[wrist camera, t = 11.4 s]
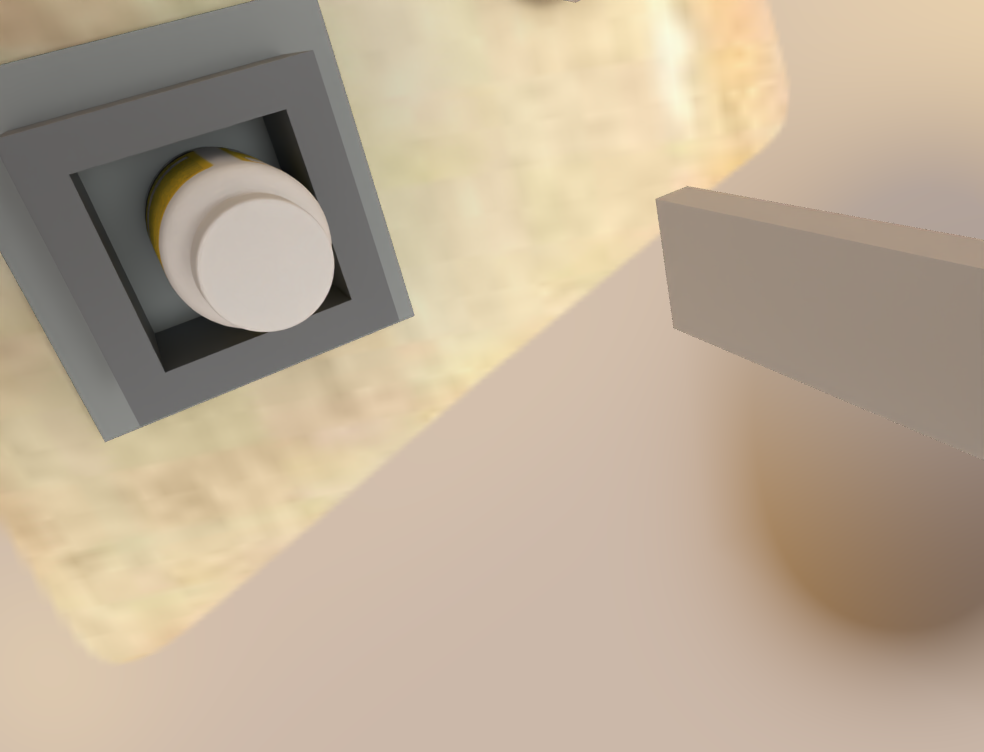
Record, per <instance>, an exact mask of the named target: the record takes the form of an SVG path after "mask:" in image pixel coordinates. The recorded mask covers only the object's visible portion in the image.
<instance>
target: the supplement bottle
mask: <svg viewBox="0 0 984 752" xmlns="http://www.w3.org/2000/svg"><path fill="white" fill-rule="evenodd" d="M145 223H146V229H147V232H148V235H149V238H150V241H151V244H152V246H153V248H154V251H155V253H156V255H157V257H158V259H159V261H160V263H161V265H162V268H163V270H164V272H165V274H166V276H167V278H168V280H169V282H170V284H171V286H172V287H173V289H174V290H175V291H176V293H177V294H178V295H179V297H180V298H181V299H182V300H183V301H184V302H185V303H186V304H187V305H188V306H189V307H190V308H192V309H193V310H194V311H196V312H197V313H198V314H200V315H202V316H203V317H205V318H207V319H209V320H211V321H214V322H216V323H219V324H222V325H225V326H229V327H235V328H243V329H246V330H250V331H257V332H274V331H280V330H284V329H288V328H291V327H293V326H295V325H298V324H299V323H301V322H303V321H304V320H306V319H307V318H308V317H310V316H311V315H312V314H313V313H314V312H315V311H316V310H317V309H318V308H319V307H320V305H321V304H322V303H323V301H324V300H325V298H326V296H327V294H328V292H329V290H330V287H331V284H332V280H333V275H334V256H333V251H332V242H331V235H330V230H329V226H328V223H327V220H326V217H325V215H324V212H323V211H322V209H321V207H320V205H319V203H318V202H317V200H316V199H315V198H314V196H313V195H312V194H311V193H310V192H309V191H308V190H307V189H306V188H305V187H304V186H303V185H302V184H301V183H300V182H299V181H297V180H296V179H294V178H293V177H291V176H290V175H288V174H287V173H285V172H283V171H282V170H279V169H277V168H275V167H273V166H271V165H269V164H267V163H264V162H262V161H260V160H258V159H256V158H254V157H252V156H250V155H248V154H245V153H243V152H240V151H237V150H234V149H229V148H224V147H202V148H197V149H193V150H189V151H187V152H185V153H182V154H180V155H178V156H177V157H175V158H174V159H172V160H171V161H169V162H168V163H167V164H166V165H165V166H164V167H163V168H162V169H161V170H160V171H159V172H158V173H157V175H156V176H155V178H154V180H153V182H152V183H151V186H150V188H149V191H148V194H147V198H146V203H145Z"/></svg>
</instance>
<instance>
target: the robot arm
mask: <svg viewBox="0 0 984 752" xmlns="http://www.w3.org/2000/svg"><path fill="white" fill-rule="evenodd" d="M656 206H657V213H658V220H659V227H660V234H661V242H662V248H663V256H664V263H665V270H666V277H667V284H668V292H669V299H670V305H671V313H672V320H673V328H675V329H677V330H679V331H682V332H684V333H686V334H689V335H691V336H693V337H696V338H698V339H700V340H703V341H705V342H708V343H710V344H712V345H715V346H717V347H719V348H722V349H724V350H726V351H729V352H731V353H733V354H736V355H738V356H740V357H743V358H745V359H747V360H750V361H752V362H754V363H757V364H759V365H762V366H764V367H766V368H769V369H771V370H773V371H775V372H778V373H780V374H782V375H785V376H787V377H790V378H792V379H794V380H797V381H799V382H801V383H804V384H806V385H808V386H811V387H813V388H815V389H818V390H820V391H822V392H825V393H827V394H830V395H832V396H834V397H836V398H839V399H841V400H844V401H846V402H849V403H850V404H853V405H855V406H858V407H860V408H862V409H865V410H867V411H869V412H872V413H874V414H876V415H879V416H881V417H883V418H886V419H888V420H890V421H893V422H895V423H897V424H900V425H902V426H904V427H907V428H909V429H912V430H914V431H916V432H919V433H921V434H923V435H926V436H928V437H930V438H933V439H935V440H937V441H940V442H942V443H944V444H947V445H949V446H951V447H954V448H956V449H958V450H961V451H963V452H966V453H968V454H970V455H973V456H975V457H978V458H980V459H982V460H984V240H981V239H976V238H971V237H965V236H960V235H954V234H949V233H943V232H937V231H931V230H927V229H921V228H915V227H910V226H904V225H899V224H893V223H888V222H882V221H877V220H871V219H866V218H860V217H855V216H849V215H843V214H838V213H832V212H827V211H821V210H816V209H810V208H805V207H799V206H794V205H788V204H782V203H777V202H772V201H766V200H760V199H755V198H749V197H743V196H738V195H733V194H727V193H722V192H716V191H711V190H705V189H700V188H694V187H689V186H687V187H684V188H682V189H679V190H677V191H674V192H672V193H669V194H667V195H664V196H662V197H659V198H657V199H656Z"/></svg>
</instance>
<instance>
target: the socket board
mask: <svg viewBox="0 0 984 752" xmlns="http://www.w3.org/2000/svg"><path fill="white" fill-rule="evenodd" d="M202 147H224V148H229V149H234V150H237V151H240V152H243V153H245V154H248V155H250V156H252V157H254V158H256V159H258V160H260V161H262V162H264V163H267V164H269V165H271V166H273V167H275V168H277V169H279V170H282V171H283V172H285V173H287V174H288V175H290V176H291V177H293V178H294V179H296V180H297V181H299V182H300V183H301V184H302V185H303V186H304V187H305V188H306V189H307V190H308V191H309V192H310V193H311V194H312V195H313V196H314V198H315V199H316V200H317V202H318V203H319V205H320V207H321V209H322V211H323V212H324V215H325V217H326V220H327V223H328V226H329V230H330V235H331V242H332V251H333V256H334V275H333V280H332V284H331V287H330V290H329V292H328V294H327V296H326V298H325V300H324V301H323V303H322V304H321V305H320V307H319V308H318V309H317V310H316V311H315V312H314V313H313V314H312V315H311V316H310V317H308V318H307V319H306V320H304V321H303V322H301V323H299V324H298V325H295V326H293V327H291V328H288V329H284V330H280V331H274V332H257V331H250V330H246V329H243V328H235V327H229V326H225V325H222V324H219V323H216V322H214V321H211V320H209V319H207V318H205V317H203V316H202V315H200V314H198V313H197V312H196V311H194V310H193V309H192V308H190V307H189V306H188V305H187V304H186V303H185V302H184V301H183V300H182V299H181V298H180V297H179V295H178V294H177V293H176V291H175V290H174V289H173V287H172V286H171V284H170V282H169V280H168V278H167V276H166V274H165V272H164V270H163V268H162V265H161V263H160V261H159V259H158V257H157V255H156V253H155V251H154V248H153V246H152V244H151V241H150V238H149V235H148V232H147V229H146V223H145V203H146V198H147V194H148V191H149V188H150V186H151V183H152V182H153V180H154V178H155V176H156V175H157V173H158V172H159V171H160V170H161V169H162V168H163V167H164V166H165V165H166V164H167V163H168V162H169V161H171V160H172V159H174V158H175V157H177V156H178V155H180V154H182V153H185V152H187V151H189V150H193V149H197V148H202ZM0 252H1V254H2V256H3V257H4V259H5V261H6V263H7V265H8V266H9V268H10V270H11V272H12V274H13V275H14V277H15V279H16V281H17V283H18V285H19V286H20V288H21V290H22V292H23V294H24V295H25V297H26V299H27V301H28V303H29V305H30V306H31V308H32V310H33V312H34V314H35V315H36V317H37V319H38V321H39V323H40V325H41V326H42V328H43V330H44V332H45V334H46V335H47V337H48V339H49V341H50V343H51V345H52V346H53V348H54V350H55V352H56V354H57V355H58V357H59V359H60V361H61V363H62V365H63V366H64V368H65V370H66V372H67V374H68V375H69V377H70V379H71V381H72V383H73V385H74V386H75V388H76V390H77V392H78V394H79V395H80V397H81V399H82V401H83V403H84V405H85V406H86V408H87V410H88V412H89V414H90V415H91V417H92V419H93V421H94V423H95V425H96V426H97V428H98V430H99V432H100V434H101V435H102V437H103V439H104V441H105V442H107V441H109V440H112V439H114V438H116V437H119V436H121V435H124V434H126V433H129V432H131V431H134V430H136V429H138V428H141V427H143V426H146V425H148V424H151V423H153V422H156V421H158V420H160V419H163V418H165V417H168V416H170V415H173V414H175V413H178V412H180V411H183V410H185V409H187V408H190V407H192V406H195V405H197V404H200V403H202V402H205V401H207V400H209V399H212V398H214V397H217V396H219V395H222V394H224V393H227V392H229V391H231V390H234V389H236V388H239V387H241V386H244V385H246V384H249V383H251V382H254V381H256V380H258V379H261V378H263V377H266V376H268V375H271V374H273V373H276V372H278V371H280V370H283V369H285V368H288V367H290V366H293V365H295V364H298V363H300V362H302V361H305V360H307V359H310V358H312V357H315V356H317V355H320V354H322V353H325V352H327V351H329V350H332V349H334V348H337V347H339V346H342V345H344V344H347V343H349V342H351V341H354V340H356V339H359V338H361V337H364V336H366V335H369V334H371V333H373V332H376V331H378V330H381V329H383V328H386V327H388V326H391V325H393V324H396V323H398V322H400V321H403V320H405V319H408V318H410V317H413V316H414V312H413V309H412V306H411V303H410V299H409V296H408V293H407V290H406V286H405V283H404V280H403V277H402V273H401V270H400V267H399V264H398V260H397V257H396V254H395V251H394V247H393V244H392V241H391V238H390V234H389V231H388V228H387V225H386V221H385V218H384V215H383V212H382V208H381V205H380V202H379V199H378V195H377V192H376V189H375V186H374V182H373V179H372V176H371V173H370V169H369V166H368V163H367V160H366V156H365V153H364V150H363V147H362V143H361V140H360V137H359V134H358V130H357V127H356V124H355V121H354V118H353V114H352V111H351V108H350V105H349V101H348V98H347V95H346V92H345V88H344V85H343V82H342V79H341V75H340V72H339V69H338V66H337V62H336V59H335V56H334V53H333V49H332V46H331V43H330V40H329V36H328V33H327V30H326V27H325V23H324V20H323V17H322V14H321V10H320V7H319V4H318V1H317V0H255V1H251V2H247V3H243V4H239V5H235V6H231V7H227V8H223V9H219V10H215V11H211V12H207V13H203V14H199V15H195V16H191V17H187V18H184V19H180V20H176V21H172V22H168V23H164V24H160V25H156V26H152V27H148V28H144V29H140V30H136V31H132V32H128V33H124V34H120V35H116V36H112V37H108V38H105V39H101V40H97V41H93V42H89V43H85V44H81V45H77V46H73V47H69V48H65V49H61V50H57V51H53V52H49V53H45V54H41V55H37V56H33V57H30V58H26V59H22V60H18V61H14V62H10V63H6V64H2V65H0Z"/></svg>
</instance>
